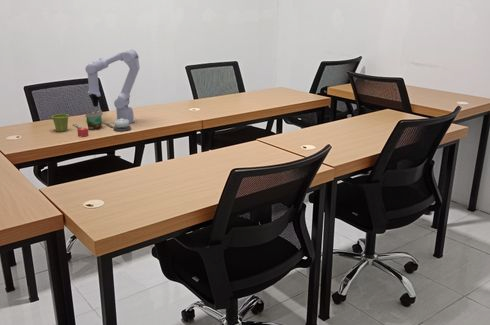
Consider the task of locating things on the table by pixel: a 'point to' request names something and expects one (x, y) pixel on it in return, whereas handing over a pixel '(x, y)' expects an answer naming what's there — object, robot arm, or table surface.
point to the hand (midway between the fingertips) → (95, 106)
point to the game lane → (102, 122)
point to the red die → (82, 132)
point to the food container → (94, 120)
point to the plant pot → (60, 122)
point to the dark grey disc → (122, 129)
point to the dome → (121, 123)
